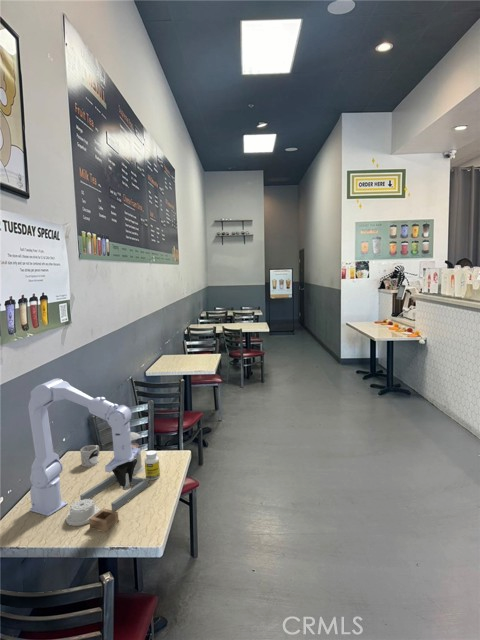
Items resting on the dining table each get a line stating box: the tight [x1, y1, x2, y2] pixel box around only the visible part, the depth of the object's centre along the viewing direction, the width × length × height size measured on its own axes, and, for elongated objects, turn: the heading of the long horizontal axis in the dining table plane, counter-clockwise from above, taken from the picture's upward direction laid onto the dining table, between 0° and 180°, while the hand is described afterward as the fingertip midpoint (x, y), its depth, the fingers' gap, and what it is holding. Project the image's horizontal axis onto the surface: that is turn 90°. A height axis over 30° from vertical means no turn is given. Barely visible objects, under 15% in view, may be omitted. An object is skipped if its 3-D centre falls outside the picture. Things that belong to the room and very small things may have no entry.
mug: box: [79, 444, 100, 468], centre depth 170 cm, size 10×7×7 cm
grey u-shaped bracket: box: [79, 473, 149, 511], centre depth 142 cm, size 15×17×2 cm
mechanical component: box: [65, 498, 100, 527], centre depth 129 cm, size 10×4×10 cm
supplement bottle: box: [144, 450, 161, 481], centre depth 153 cm, size 5×5×10 cm
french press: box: [128, 420, 145, 476], centre depth 160 cm, size 10×12×25 cm
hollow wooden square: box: [88, 507, 119, 533], centre depth 124 cm, size 6×6×3 cm
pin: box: [121, 471, 131, 491], centre depth 131 cm, size 2×2×6 cm
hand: (125, 483), depth 131 cm, fingers closed on pin, 2 cm apart
